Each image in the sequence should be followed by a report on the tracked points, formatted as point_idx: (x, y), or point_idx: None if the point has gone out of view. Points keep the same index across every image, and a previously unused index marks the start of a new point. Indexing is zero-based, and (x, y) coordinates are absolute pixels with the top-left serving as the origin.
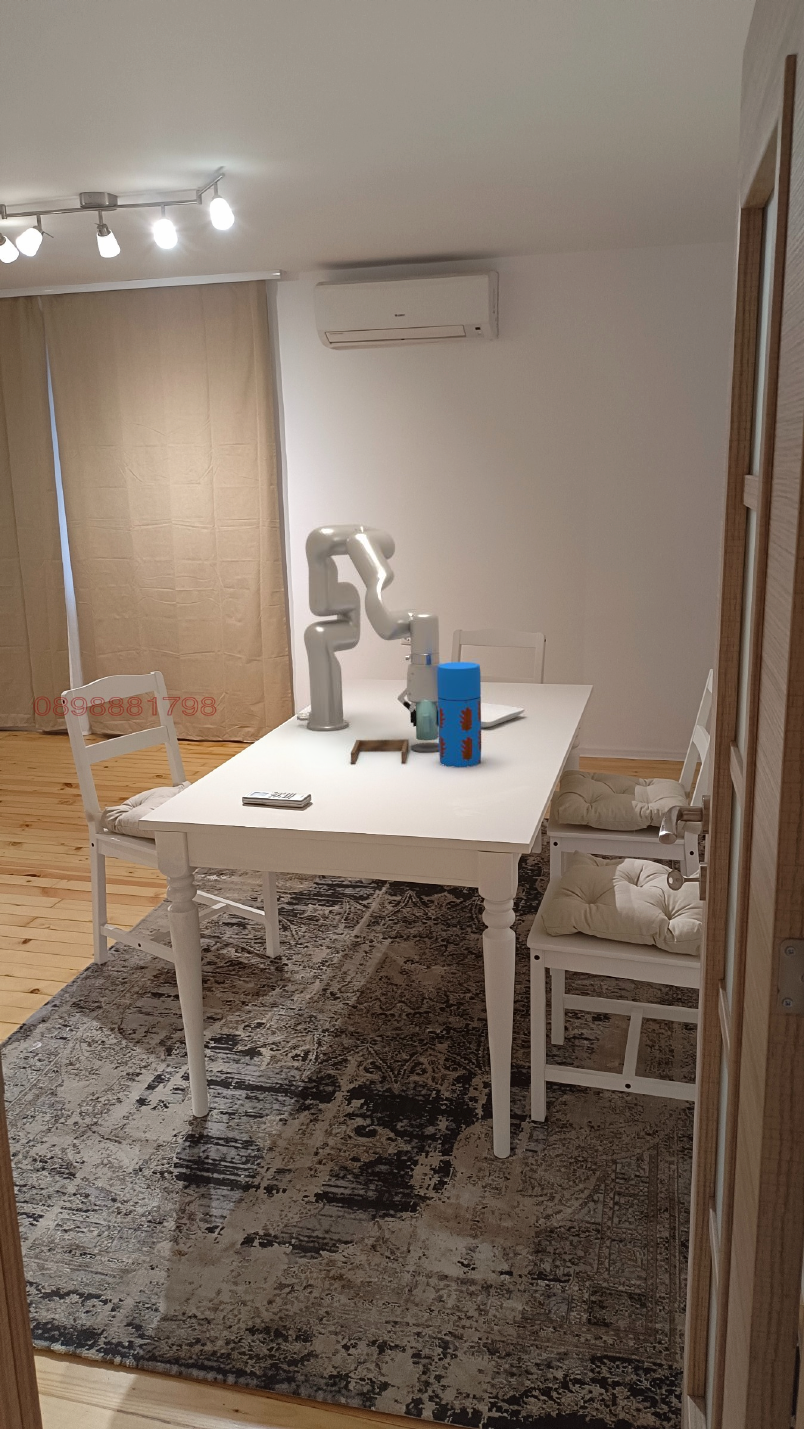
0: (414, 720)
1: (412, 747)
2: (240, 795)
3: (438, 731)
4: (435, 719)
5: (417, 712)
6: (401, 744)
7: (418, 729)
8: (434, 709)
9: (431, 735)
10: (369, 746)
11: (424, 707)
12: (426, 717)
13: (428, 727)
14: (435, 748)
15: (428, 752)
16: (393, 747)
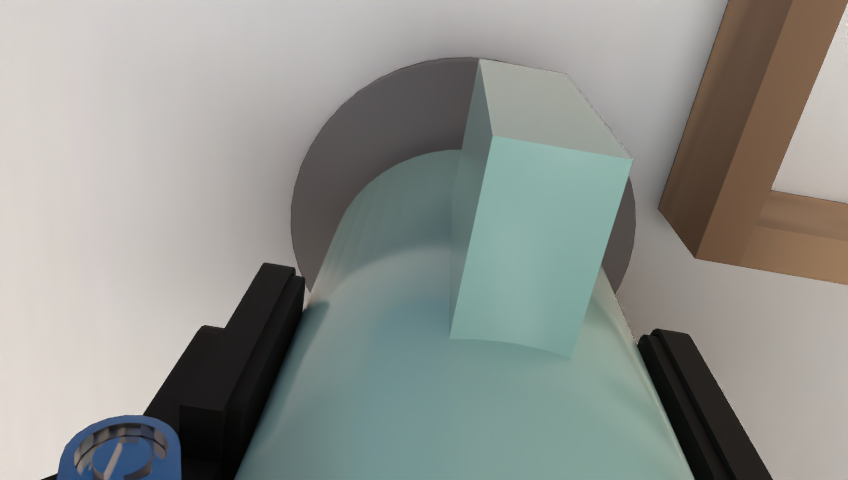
0: (693, 383)
1: (620, 226)
2: None
3: None
4: (320, 314)
5: (689, 468)
6: (769, 211)
7: (602, 273)
8: (291, 437)
9: (423, 171)
10: None
11: (572, 464)
12: (542, 134)
13: (488, 74)
14: (389, 132)
15: (476, 59)
16: (842, 213)
